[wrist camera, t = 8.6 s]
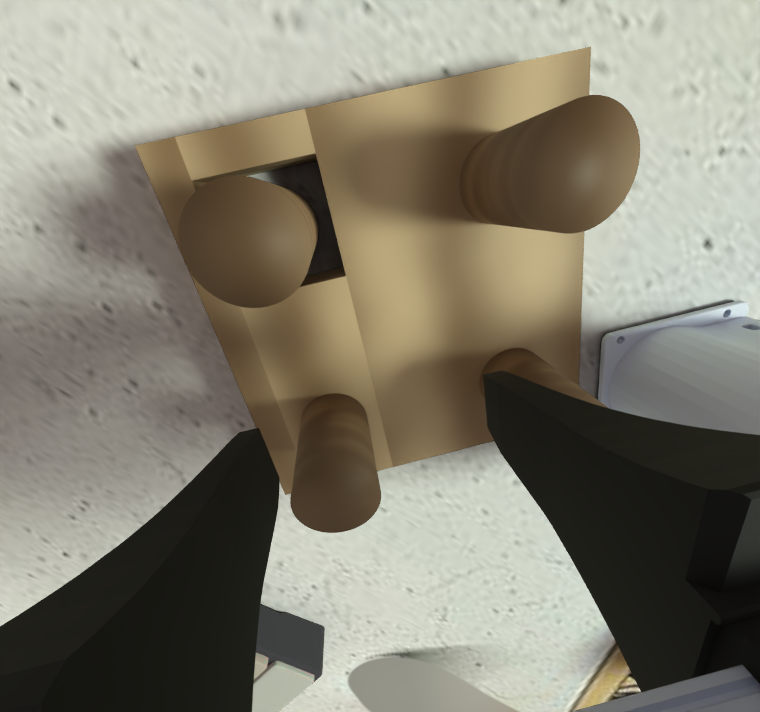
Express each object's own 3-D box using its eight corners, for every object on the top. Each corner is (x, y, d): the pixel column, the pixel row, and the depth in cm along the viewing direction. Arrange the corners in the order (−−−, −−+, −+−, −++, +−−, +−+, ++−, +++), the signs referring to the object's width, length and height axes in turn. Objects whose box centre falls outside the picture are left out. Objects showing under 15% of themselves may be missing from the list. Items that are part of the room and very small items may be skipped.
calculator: (130, 612, 22) (324, 686, 26) (163, 550, 26) (327, 624, 30) (49, 702, 24) (239, 756, 29) (91, 633, 28) (252, 690, 33)
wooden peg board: (553, 68, 16) (737, -42, 9) (553, 398, 24) (653, 485, 16) (163, 154, 15) (16, 110, 8) (289, 465, 23) (271, 587, 16)
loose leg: (307, 179, 17) (289, 162, 9) (327, 256, 18) (325, 293, 11) (231, 196, 16) (154, 192, 9) (258, 272, 18) (209, 320, 11)
